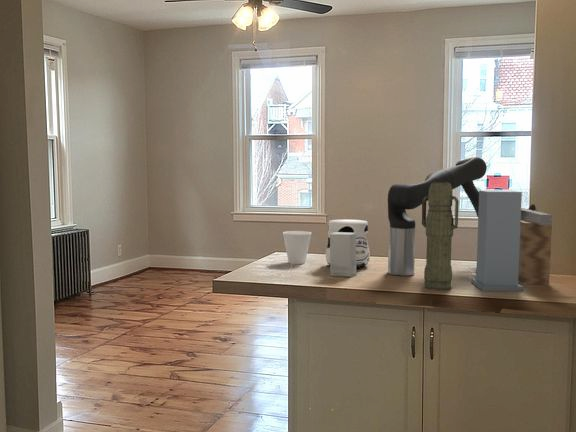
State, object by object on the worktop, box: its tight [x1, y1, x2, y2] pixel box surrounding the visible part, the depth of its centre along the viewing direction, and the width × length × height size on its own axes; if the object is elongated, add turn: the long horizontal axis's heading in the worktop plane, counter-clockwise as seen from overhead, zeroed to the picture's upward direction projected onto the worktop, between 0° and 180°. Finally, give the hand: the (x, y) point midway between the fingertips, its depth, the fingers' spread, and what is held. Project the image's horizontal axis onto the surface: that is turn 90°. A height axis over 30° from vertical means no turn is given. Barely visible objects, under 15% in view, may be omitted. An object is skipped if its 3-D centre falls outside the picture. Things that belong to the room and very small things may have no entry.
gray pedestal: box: [471, 189, 524, 292], centre depth 201 cm, size 13×13×32 cm
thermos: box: [421, 182, 460, 291], centre depth 200 cm, size 9×12×35 cm
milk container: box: [325, 218, 371, 269], centre depth 239 cm, size 17×17×18 cm
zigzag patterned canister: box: [518, 220, 553, 285], centre depth 213 cm, size 9×14×21 cm, turn 179°
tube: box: [521, 207, 553, 225], centre depth 212 cm, size 28×4×4 cm, turn 178°
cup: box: [282, 230, 313, 265], centre depth 247 cm, size 12×12×12 cm
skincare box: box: [329, 232, 357, 278], centre depth 221 cm, size 8×7×16 cm
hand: (521, 206), depth 221 cm, fingers open, 8 cm apart
